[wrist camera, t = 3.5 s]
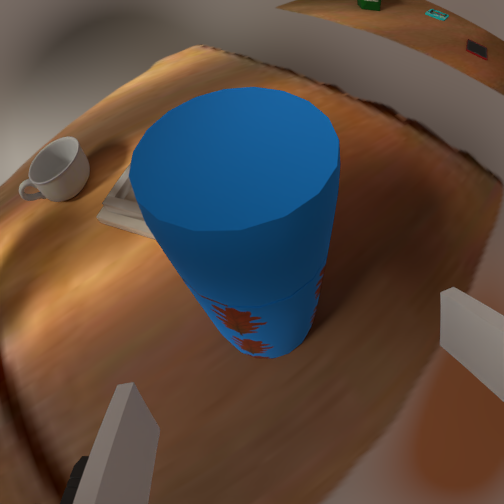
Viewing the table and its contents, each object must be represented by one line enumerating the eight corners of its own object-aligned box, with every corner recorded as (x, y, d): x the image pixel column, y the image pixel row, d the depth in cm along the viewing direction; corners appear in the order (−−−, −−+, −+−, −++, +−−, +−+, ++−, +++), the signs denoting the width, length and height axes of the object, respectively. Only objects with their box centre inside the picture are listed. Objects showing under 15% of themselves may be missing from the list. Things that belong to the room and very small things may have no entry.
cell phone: (486, 49, 72) (486, 47, 71) (486, 61, 66) (487, 59, 66) (467, 40, 74) (467, 38, 74) (465, 51, 69) (466, 49, 68)
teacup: (93, 156, 55) (75, 127, 48) (101, 190, 50) (80, 158, 43) (37, 192, 53) (16, 166, 46) (38, 229, 48) (13, 202, 41)
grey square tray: (212, 256, 41) (206, 242, 38) (100, 222, 46) (90, 209, 43) (265, 150, 50) (263, 134, 47) (161, 136, 55) (156, 121, 52)
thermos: (304, 368, 33) (333, 255, 11) (209, 349, 35) (90, 221, 14) (320, 278, 38) (345, 92, 16) (233, 265, 40) (174, 86, 19)
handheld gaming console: (424, 12, 86) (431, 8, 91) (424, 14, 87) (431, 10, 92) (443, 20, 83) (449, 14, 88) (443, 22, 83) (449, 16, 88)
